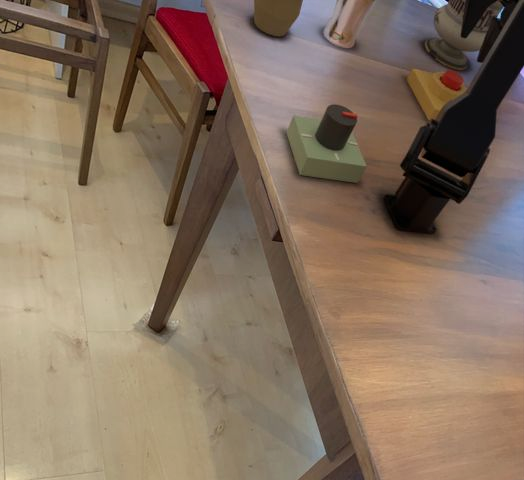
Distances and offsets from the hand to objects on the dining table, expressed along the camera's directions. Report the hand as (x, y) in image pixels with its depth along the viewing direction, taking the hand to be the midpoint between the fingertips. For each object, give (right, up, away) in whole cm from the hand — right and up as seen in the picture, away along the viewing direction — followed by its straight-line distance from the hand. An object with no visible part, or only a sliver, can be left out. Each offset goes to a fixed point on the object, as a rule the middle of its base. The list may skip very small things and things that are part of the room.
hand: (470, 49), depth 93 cm
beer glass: (-21, +7, +10) cm, 24 cm away
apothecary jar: (+3, +10, +21) cm, 24 cm away
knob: (-25, -21, -16) cm, 37 cm away
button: (-2, -4, +5) cm, 6 cm away
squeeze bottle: (-33, +6, +4) cm, 34 cm away
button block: (-3, -6, +8) cm, 10 cm away
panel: (-26, -23, -13) cm, 37 cm away
